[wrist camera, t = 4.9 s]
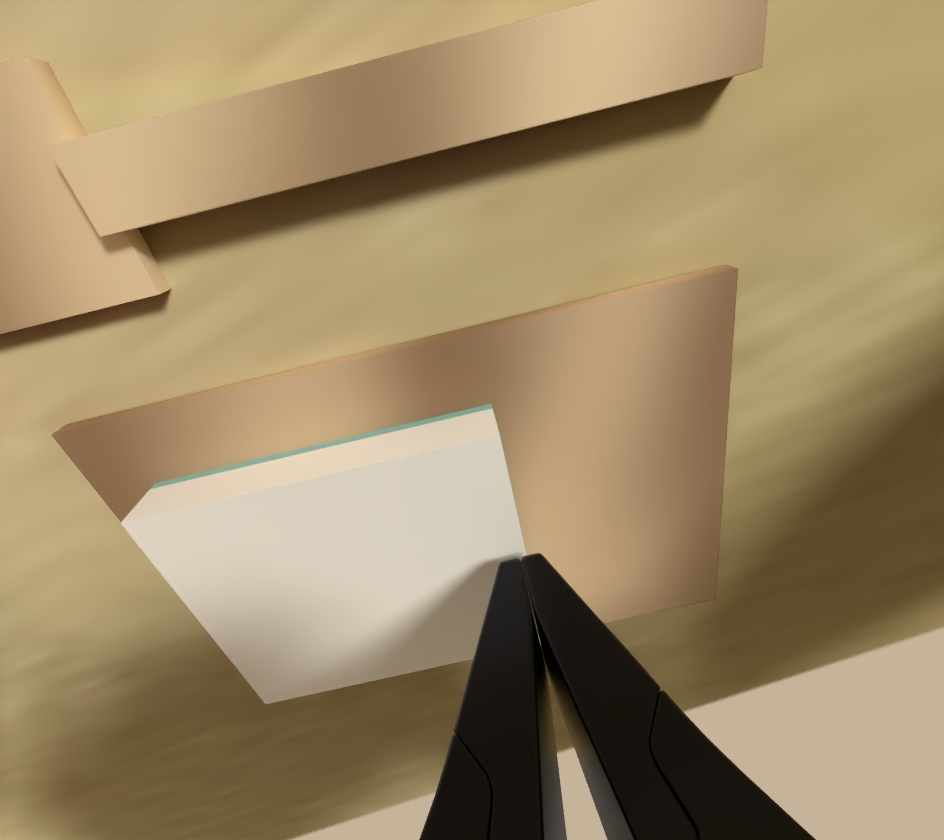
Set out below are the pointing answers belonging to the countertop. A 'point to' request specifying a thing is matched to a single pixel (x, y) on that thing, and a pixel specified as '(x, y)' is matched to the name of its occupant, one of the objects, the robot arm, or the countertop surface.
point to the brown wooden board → (506, 429)
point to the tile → (341, 552)
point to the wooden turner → (316, 134)
